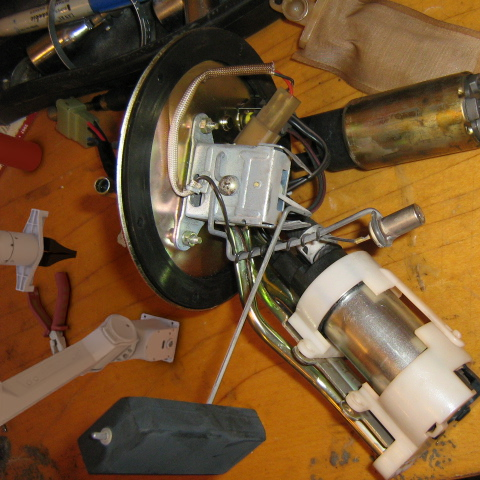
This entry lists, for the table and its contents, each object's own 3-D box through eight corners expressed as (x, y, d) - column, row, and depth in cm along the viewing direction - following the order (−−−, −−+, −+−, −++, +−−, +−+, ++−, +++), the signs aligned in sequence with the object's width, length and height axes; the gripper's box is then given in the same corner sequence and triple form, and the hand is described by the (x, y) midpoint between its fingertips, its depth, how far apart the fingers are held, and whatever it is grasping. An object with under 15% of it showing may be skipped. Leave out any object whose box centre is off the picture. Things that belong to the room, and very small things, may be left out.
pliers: (49, 373, 102) (38, 375, 100) (33, 288, 107) (22, 287, 104) (86, 357, 99) (76, 359, 96) (68, 270, 103) (57, 269, 101)
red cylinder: (44, 143, 110) (-3, 128, 100) (39, 172, 110) (-9, 160, 100) (24, 142, 113) (-24, 127, 103) (19, 170, 113) (-30, 158, 102)
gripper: (-5, 202, 78) (65, 214, 91) (-22, 286, 78) (51, 287, 90) (22, 206, 76) (91, 218, 88) (5, 294, 75) (76, 293, 87)
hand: (72, 253), depth 89 cm, fingers closed
